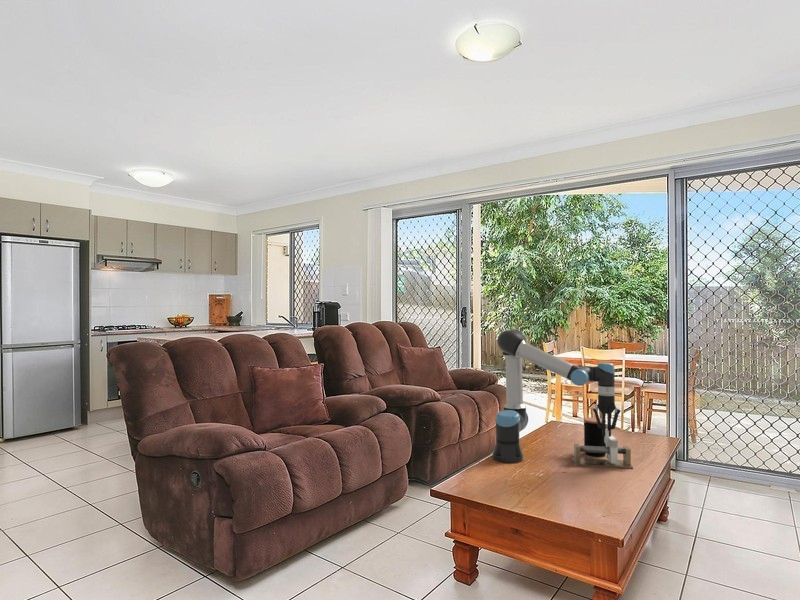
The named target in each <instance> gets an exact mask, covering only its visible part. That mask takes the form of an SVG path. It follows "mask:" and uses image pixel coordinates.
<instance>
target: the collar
mask: <svg viewBox="0 0 800 600" xmlns="http://www.w3.org/2000/svg"><path fill="white" fill-rule="evenodd" d="M606 447H610V453H606V459H608V460H609V461H610V463H612V464H618V460H619V458H618V457H619V456H618V455H619V454H618V447H619V445H618V439H617V438H616V437H615V436H614V435H612V434H611V437H609V444H606Z"/></svg>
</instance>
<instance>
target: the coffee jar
mask: <svg viewBox="0 0 800 600" xmlns="http://www.w3.org/2000/svg"><path fill="white" fill-rule="evenodd" d="M599 419H600V423H601V426H602V417H601V418H600V417H599ZM583 421H584V423H583V434H584V436H583V444H584V445H583V446H601V447H607V444H605V442H604V436H603V435H602V429H600V428H599V427H598V424H597V420H596V417H591V416H590V417H585V418H584V419H583ZM606 424H607V419H605V426H606V427H607V425H606ZM584 453H585V455H587V456H589V457H595V458H599V457H605V455H607V453H593V452H584Z"/></svg>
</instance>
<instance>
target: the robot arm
mask: <svg viewBox="0 0 800 600" xmlns="http://www.w3.org/2000/svg"><path fill="white" fill-rule="evenodd" d="M496 342H497V343H496V344H497V346H498V348H499V349H500V351H502V353H501V355H502V356H503V358H505V392H506V395H505V397H506V398H505V399H506V403H505V404H504V405H503V410H500V411H498V412H497V413H496V415H495V445H494V448H493V451H492V459H493V460H494V461H496V462H499V463H508V464H511V463H512V464H515V463H520V462H523V460H524V454H523V450H522V448H521V444H520V432H522V431H523V430H524V429H526V427H527V425H528V423H529V415H528V413H527V407H526V405H525V404H524V398H523V397H524V393H523V392H524V390H523V385H524V384H523V359H524V360H525V361H528V362H530V363H532V364H535V365H537V366H538V367H541V368H543V369H545V370H547V371H550V372H551V373H554V374H556V375H558V376H560V377H563V378H565V379H566V380H568V381H570V382H572V383H573V385H576V386H579V387H580V386H584V385H586V384H587V383H588V382H593V383H597V393H598V395H597V404H596V407H592V411H593V412H594V413H593V414H594V416H595V418H596V420H597V424H598V427H599V428H600V429H602V435H603V436H604V442H605V444H606V445H607V444H609V437H611V435H612V431H613V430H615V429H616V425H617V422H618V418H619V415H620V413H621V412H622V411H621V410H620V408H617V406H616V404H615V402H616V400H615V398H616V397H615V396H616V395H615V393H616V392H615V377H616V376H615V373H616V372H615V365H614V364H613V363H611V362H598V363H597V365H596V366H591V365H590V366H588V365H575V364H573V363H570V362H568V361H566V360H564V359H562V358H560V357H557V356H556V355H553V354H551V353H549V352H546V351H545V350H542V349H541V348H538V347H535V346H533V345H531V344H529V343H527V337H526V335H525V333H524V332H523V331H521V330H519V329H508V330H504V331H502V332H500V334H499V335H498V336H497V341H496ZM599 412H600V413H601V418H602V426H601V423H600V419H599V418H600V415H599ZM612 413H614V415H613V417H612ZM606 416H607V417H606ZM605 420H606V423H605ZM606 424H607V425H606ZM605 425H606V426H605Z"/></svg>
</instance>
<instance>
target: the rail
mask: <svg viewBox="0 0 800 600" xmlns="http://www.w3.org/2000/svg"><path fill="white" fill-rule="evenodd" d="M631 451H632V450H631V448H630V447H629V446H627V445H623V446H622V447H621V446H620V447H619V446H618V455H622V459H618V464H612V463H610V461H609V460H608V459H607V458H585V457H581V453H585V452H593V453H606V454H607V453H610V447H607V446H606V447H601V446H584V445H579V444H578V443H574V444H573V457H572V461H573V463H574V465H575V466H576V467H592V468H594V467H595V468H609V469H610V468H612V469H613V468H615V469H629V470H631V469H632V470H634V466H633V465H632V461H631V459H632V456H631V454H632V453H631Z"/></svg>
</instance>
